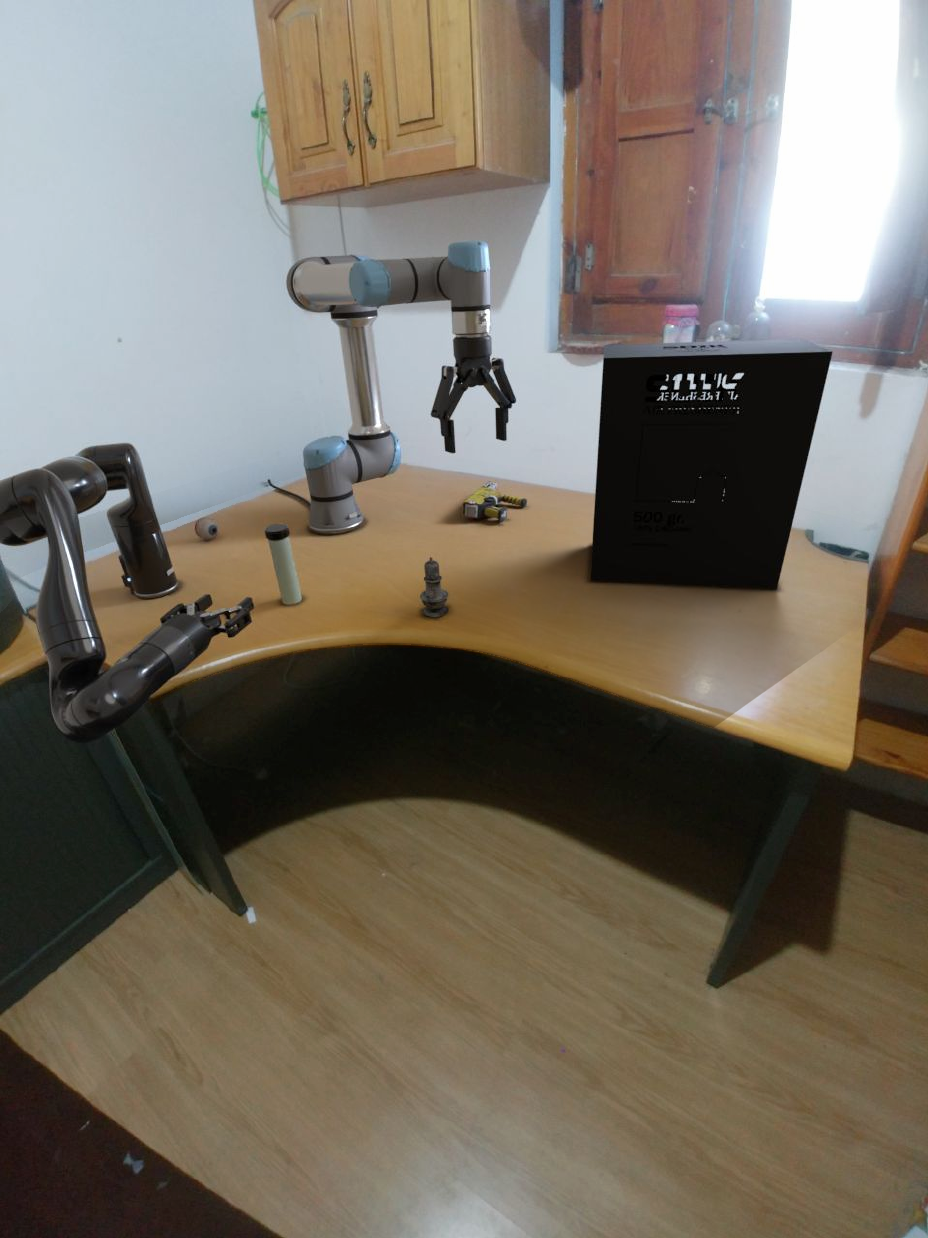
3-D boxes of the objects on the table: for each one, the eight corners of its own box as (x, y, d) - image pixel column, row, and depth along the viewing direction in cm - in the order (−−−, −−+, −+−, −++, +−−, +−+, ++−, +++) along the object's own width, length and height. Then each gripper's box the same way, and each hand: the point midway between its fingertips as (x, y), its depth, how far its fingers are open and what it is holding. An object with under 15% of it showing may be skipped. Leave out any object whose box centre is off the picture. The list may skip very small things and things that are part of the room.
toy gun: (534, 486, 180) (487, 479, 184) (513, 510, 160) (461, 501, 164) (533, 501, 182) (486, 494, 186) (512, 527, 162) (460, 518, 166)
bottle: (297, 605, 129) (282, 533, 121) (279, 604, 130) (262, 533, 121) (304, 595, 133) (290, 525, 124) (286, 595, 133) (270, 526, 125)
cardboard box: (756, 549, 141) (800, 338, 118) (776, 589, 124) (832, 351, 101) (592, 544, 148) (604, 344, 126) (590, 580, 131) (603, 357, 109)
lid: (284, 540, 121) (282, 532, 120) (262, 540, 122) (260, 532, 121) (292, 531, 125) (291, 523, 124) (271, 531, 126) (269, 523, 125)
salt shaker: (446, 618, 120) (442, 563, 114) (417, 616, 122) (412, 562, 116) (452, 604, 125) (448, 551, 119) (425, 602, 126) (420, 550, 120)
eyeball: (208, 544, 161) (202, 523, 158) (193, 540, 164) (187, 519, 161) (226, 536, 166) (220, 516, 163) (211, 533, 169) (205, 512, 166)
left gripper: (205, 630, 92) (260, 583, 106) (127, 623, 96) (190, 579, 109) (217, 670, 96) (269, 620, 110) (142, 662, 99) (201, 615, 113)
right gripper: (429, 342, 108) (437, 460, 118) (533, 329, 120) (532, 437, 131) (407, 340, 113) (417, 454, 124) (508, 328, 125) (510, 432, 136)
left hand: (230, 600), depth 109 cm, fingers open, 8 cm apart
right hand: (476, 445), depth 127 cm, fingers open, 13 cm apart
